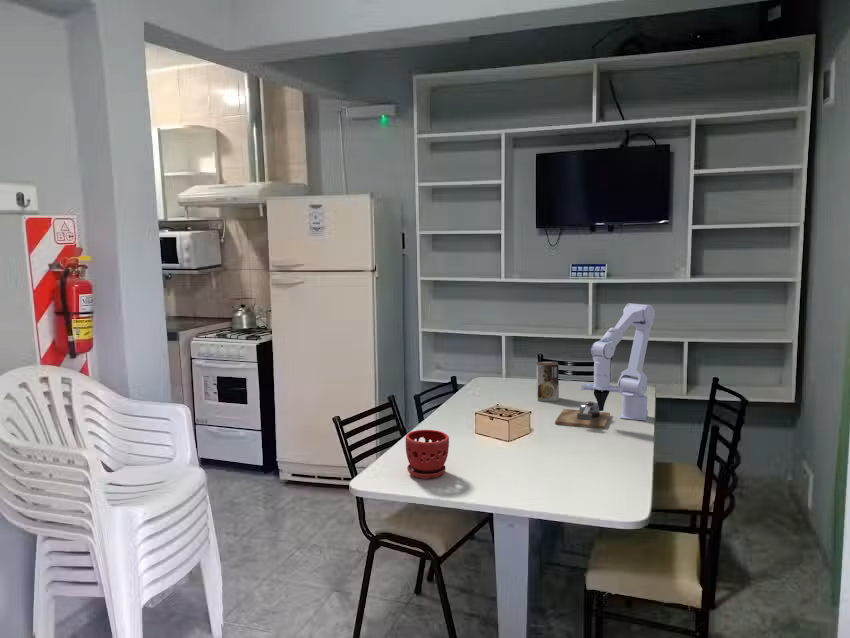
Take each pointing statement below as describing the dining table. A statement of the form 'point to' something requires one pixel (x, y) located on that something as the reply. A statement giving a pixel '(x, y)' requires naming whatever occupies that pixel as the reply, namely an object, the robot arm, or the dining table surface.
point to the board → (570, 419)
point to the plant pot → (427, 453)
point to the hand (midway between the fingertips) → (601, 410)
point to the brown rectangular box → (547, 381)
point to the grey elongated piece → (588, 410)
